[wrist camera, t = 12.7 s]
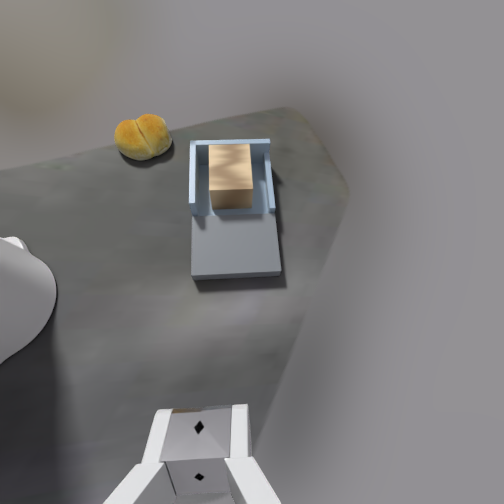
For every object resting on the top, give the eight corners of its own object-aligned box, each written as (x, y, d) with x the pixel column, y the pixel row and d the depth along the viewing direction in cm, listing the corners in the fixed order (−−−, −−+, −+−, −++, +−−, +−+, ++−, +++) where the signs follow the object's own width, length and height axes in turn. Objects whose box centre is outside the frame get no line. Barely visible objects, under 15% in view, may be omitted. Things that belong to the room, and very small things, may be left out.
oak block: (209, 190, 41) (208, 144, 44) (212, 209, 45) (211, 167, 48) (253, 188, 41) (249, 144, 44) (251, 208, 45) (248, 166, 49)
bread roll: (113, 134, 51) (103, 114, 48) (163, 119, 53) (157, 100, 49) (125, 169, 48) (115, 152, 45) (178, 153, 50) (173, 135, 46)
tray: (194, 221, 45) (188, 203, 40) (194, 163, 49) (190, 140, 45) (273, 218, 45) (276, 200, 41) (267, 161, 50) (269, 138, 45)
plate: (193, 280, 41) (191, 275, 39) (194, 223, 45) (192, 216, 43) (279, 275, 42) (281, 270, 40) (273, 220, 45) (274, 213, 44)
